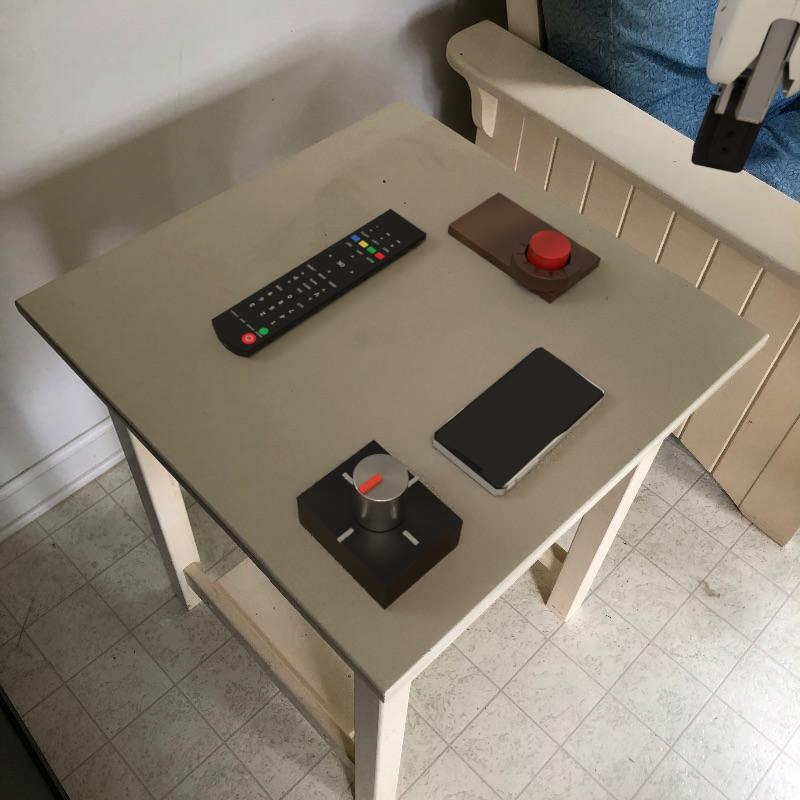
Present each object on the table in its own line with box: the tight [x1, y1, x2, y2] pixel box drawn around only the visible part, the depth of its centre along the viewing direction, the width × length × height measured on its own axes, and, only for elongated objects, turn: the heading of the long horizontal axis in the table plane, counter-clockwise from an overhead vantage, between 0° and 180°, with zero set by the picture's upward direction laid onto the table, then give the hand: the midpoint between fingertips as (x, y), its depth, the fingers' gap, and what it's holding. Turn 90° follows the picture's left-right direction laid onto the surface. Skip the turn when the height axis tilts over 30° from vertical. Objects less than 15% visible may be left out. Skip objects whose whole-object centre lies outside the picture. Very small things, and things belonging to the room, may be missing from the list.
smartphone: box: [432, 346, 606, 497], centre depth 72 cm, size 8×1×15 cm
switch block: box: [447, 192, 602, 305], centre depth 85 cm, size 14×9×3 cm, turn 45°
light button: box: [527, 231, 571, 271], centre depth 81 cm, size 4×4×2 cm
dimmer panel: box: [296, 439, 464, 610], centre depth 64 cm, size 10×8×4 cm
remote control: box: [210, 208, 427, 357], centre depth 81 cm, size 5×24×1 cm, turn 135°
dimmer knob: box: [353, 454, 409, 532], centre depth 60 cm, size 4×4×5 cm
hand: (716, 161), depth 53 cm, fingers closed
